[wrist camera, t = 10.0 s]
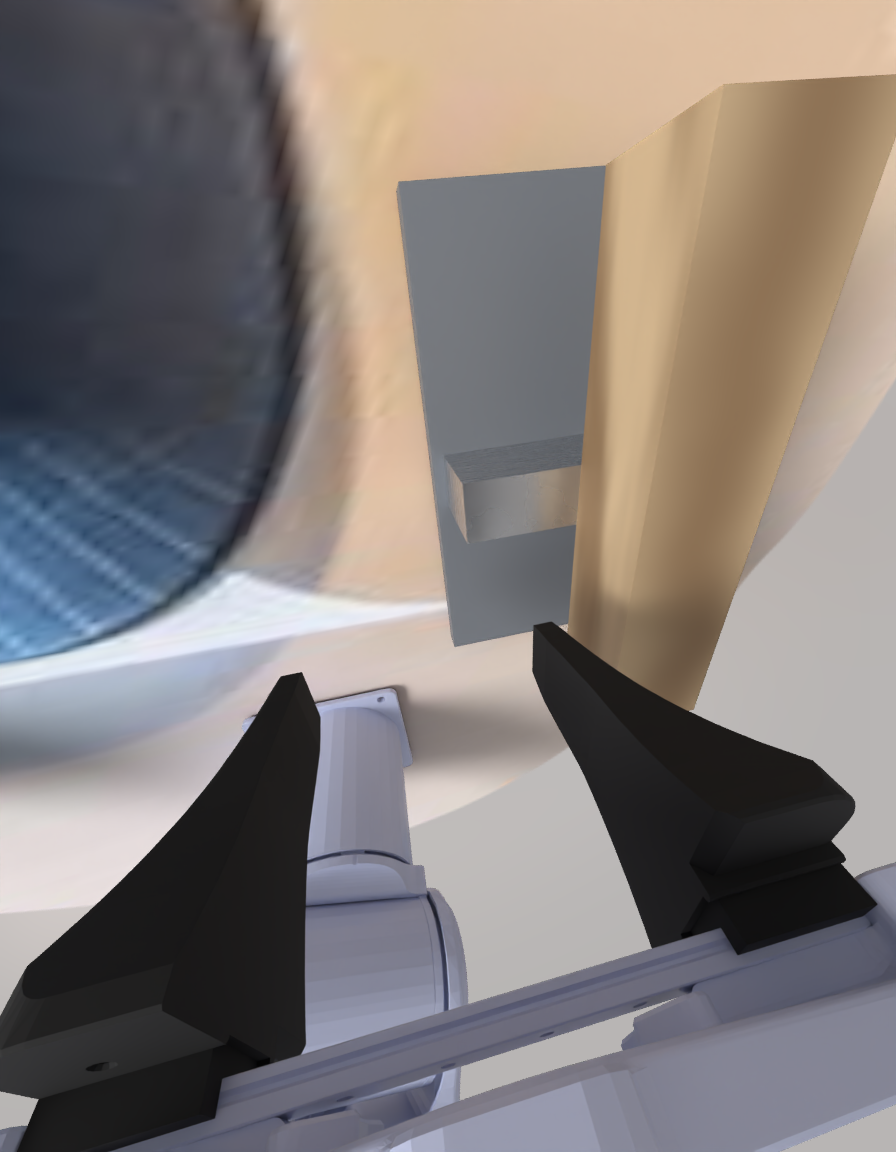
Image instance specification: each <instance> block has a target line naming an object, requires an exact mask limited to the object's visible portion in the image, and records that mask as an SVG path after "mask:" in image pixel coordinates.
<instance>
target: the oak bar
mask: <svg viewBox="0 0 896 1152" xmlns="http://www.w3.org/2000/svg"><path fill="white" fill-rule="evenodd" d="M895 137H896V74H893V75H876V76H858V77H841V78H823V79H805V80H788V81H770V82H753V83H735V84H723V85H722V86H721V87H719V88H718V89H716V90H715V91H713V92H712V93H710V94H709V95H707V96H706V97H704V98H703V99H702V100H700V101H699V102H697V103H696V104H694V105H693V106H691V107H690V108H688V109H687V110H686V111H684V112H683V113H681V114H680V115H678V116H677V117H675V118H674V119H672V120H671V121H670V122H668V123H667V124H665V125H664V126H662V127H661V128H659V129H658V130H656V131H655V132H654V133H652V134H651V135H649V136H648V137H646V138H645V139H643V140H642V141H640V142H639V143H638V144H636V145H635V146H633V147H632V148H630V149H629V150H627V151H626V152H624V153H623V154H622V155H620V156H619V157H617V158H616V159H614V160H613V161H611V162H610V163H608V164H607V165H606V170H605V182H604V195H603V207H602V219H601V231H600V243H599V255H598V268H597V280H596V292H595V304H594V316H593V328H592V341H591V353H590V365H589V377H588V389H587V401H586V414H585V426H584V438H583V450H582V462H581V474H580V487H579V499H578V511H577V523H576V535H575V547H574V560H573V572H572V584H571V596H570V608H569V620H568V634H569V635H570V636H571V637H573V638H574V639H575V640H577V641H578V642H579V643H580V644H582V645H583V646H584V647H586V648H587V649H588V650H590V651H591V652H592V653H594V654H595V655H596V656H598V657H599V658H601V659H602V660H603V661H605V662H606V663H608V664H609V665H610V666H612V667H613V668H615V669H616V670H618V671H619V672H621V673H622V674H624V675H625V676H627V677H628V678H630V679H632V680H633V681H635V682H636V683H638V684H640V685H641V686H643V687H645V688H646V689H648V690H650V691H652V692H653V693H655V694H657V695H659V696H661V697H662V698H664V699H666V700H668V701H670V702H671V703H673V704H675V705H677V706H679V707H681V708H683V709H685V710H687V711H690V710H693V709H694V707H695V704H696V701H697V698H698V695H699V693H700V690H701V687H702V684H703V681H704V678H705V676H706V673H707V670H708V667H709V664H710V661H711V659H712V655H713V653H714V650H715V647H716V644H717V642H718V639H719V636H720V633H721V630H722V627H723V625H724V622H725V619H726V616H727V613H728V610H729V608H730V604H731V602H732V599H733V596H734V593H735V591H736V588H737V585H738V582H739V579H740V576H741V574H742V571H743V568H744V565H745V562H746V559H747V557H748V554H749V551H750V548H751V545H752V543H753V540H754V537H755V534H756V531H757V528H758V526H759V523H760V520H761V517H762V514H763V511H764V509H765V506H766V503H767V500H768V497H769V494H770V492H771V489H772V486H773V483H774V480H775V477H776V475H777V472H778V469H779V466H780V463H781V460H782V458H783V455H784V452H785V449H786V446H787V443H788V441H789V438H790V435H791V432H792V429H793V426H794V424H795V421H796V418H797V415H798V412H799V409H800V407H801V404H802V401H803V398H804V395H805V392H806V390H807V387H808V384H809V381H810V378H811V375H812V373H813V370H814V367H815V364H816V361H817V358H818V356H819V353H820V350H821V347H822V344H823V341H824V339H825V336H826V333H827V330H828V327H829V324H830V322H831V319H832V316H833V313H834V310H835V307H836V305H837V302H838V299H839V296H840V293H841V290H842V288H843V285H844V282H845V279H846V276H847V273H848V271H849V268H850V265H851V262H852V259H853V256H854V254H855V251H856V248H857V245H858V242H859V239H860V237H861V234H862V231H863V228H864V225H865V222H866V220H867V217H868V214H869V211H870V208H871V205H872V203H873V200H874V197H875V194H876V191H877V188H878V186H879V183H880V180H881V177H882V174H883V171H884V169H885V166H886V163H887V160H888V157H889V154H890V152H891V149H892V146H893V143H894V140H895Z"/></svg>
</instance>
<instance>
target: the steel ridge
mask: <svg viewBox="0 0 896 1152" xmlns="http://www.w3.org/2000/svg"><path fill="white" fill-rule="evenodd" d="M583 438H584V434H579V435H572V436H566V437H559V438H553V439H546V440H540V441H533V442H526V443H520V444H513V445H507V446H500V447H494V448H487V449H481V450H474V451H467V452H461V453H454V454H448V455H443V460H444V470H445V479H446V489H447V499H448V507H449V509H450V511H451V512H452V514H453V516H454V518H455V520H456V522H457V524H458V526H459V528H460V530H461V532H462V534H463V536H464V538H465V540H466V542H467V544H469V543H475V542H481V541H486V540H492V539H498V538H503V537H509V536H514V535H520V534H526V533H531V532H537V531H543V530H548V529H554V528H560V527H565V526H571V525H576V523H577V511H578V499H579V487H580V474H581V462H582V450H583Z"/></svg>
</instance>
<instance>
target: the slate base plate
mask: <svg viewBox="0 0 896 1152" xmlns="http://www.w3.org/2000/svg"><path fill="white" fill-rule="evenodd" d="M605 170H606V166H594V167H581V168H569V169H556V170H543V171H530V172H517V173H504V174H491V175H479V176H466V177H453V178H440V179H427V180H414V181H401V182H399V183H398V187H397V191H396V192H397V200H398V209H399V217H400V225H401V233H402V241H403V249H404V257H405V265H406V273H407V281H408V289H409V297H410V306H411V314H412V322H413V330H414V338H415V346H416V354H417V362H418V370H419V378H420V386H421V395H422V403H423V411H424V419H425V427H426V435H427V443H428V451H429V459H430V467H431V475H432V483H433V492H434V500H435V508H436V516H437V524H438V532H439V540H440V548H441V556H442V564H443V572H444V581H445V589H446V597H447V605H448V613H449V621H450V629H451V637H452V640H453V643H454V647H457V646H462V645H467V644H471V643H476V642H481V641H486V640H491V639H496V638H501V637H506V636H510V635H515V634H520V633H525V632H530V631H533V625H536V624H541V623H546V622H551V621H552V622H553V623H555V624H556V625H557V626H559V625H564V624H568V620H569V608H570V596H571V584H572V572H573V560H574V547H575V535H576V525H571V526H565V527H560V528H554V529H548V530H543V531H537V532H531V533H526V534H520V535H514V536H509V537H503V538H498V539H492V540H486V541H481V542H475V543H469V544H467V542H466V540H465V538H464V536H463V534H462V532H461V530H460V528H459V526H458V524H457V522H456V520H455V518H454V516H453V514H452V512H451V511H450V509H449V507H448V499H447V489H446V479H445V470H444V460H443V455H448V454H454V453H461V452H467V451H474V450H481V449H487V448H494V447H500V446H507V445H513V444H520V443H526V442H533V441H540V440H546V439H553V438H559V437H566V436H572V435H579V434H584V426H585V414H586V401H587V389H588V377H589V365H590V353H591V341H592V328H593V316H594V304H595V292H596V280H597V268H598V255H599V243H600V231H601V219H602V207H603V195H604V182H605Z"/></svg>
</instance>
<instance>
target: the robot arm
mask: <svg viewBox="0 0 896 1152" xmlns="http://www.w3.org/2000/svg"><path fill="white" fill-rule="evenodd" d="M532 672H533V674H534V677H535V679H536V682H537V685H538V687H539V690H540V692H541V694H542V697H543V699H544V701H545V703H546V705H547V707H548V709H549V711H550V713H551V714H552V716H553V718H554V720H555V722H556V724H557V726H558V727H559V729H560V731H561V733H562V735H563V736H564V738H565V740H566V742H567V744H568V746H569V747H570V749H571V751H572V753H573V755H574V757H575V758H576V760H577V762H578V764H579V766H580V768H581V770H582V772H583V774H584V776H585V778H586V780H587V783H588V785H589V787H590V790H591V792H592V794H593V796H594V799H595V801H596V803H597V806H598V808H599V811H600V813H601V815H602V818H603V820H604V823H605V825H606V828H607V830H608V833H609V835H610V837H611V840H612V842H613V845H614V847H615V850H616V853H617V855H618V858H619V860H620V863H621V865H622V868H623V870H624V873H625V876H626V878H627V881H628V884H629V886H630V889H631V892H632V894H633V897H634V900H635V903H636V905H637V908H638V911H639V913H640V916H641V919H642V921H643V924H644V927H645V930H646V933H647V936H648V939H649V942H650V944H651V947H652V949H649V950H646V951H642V952H639V953H636V954H633V955H629V956H626V957H623V958H619V959H616V960H613V961H609V962H606V963H603V964H600V965H596V966H593V967H589V968H586V969H583V970H580V971H576V972H573V973H570V974H566V975H563V976H560V977H556V978H554V979H550V980H547V981H544V982H540V983H537V984H533V985H530V986H527V987H523V988H520V989H517V990H513V991H510V992H507V993H504V994H500V995H497V996H494V997H490V998H487V999H484V1000H481V1001H477V1002H474V1003H471V1004H468V985H467V972H466V963H465V955H464V949H463V944H462V939H461V935H460V931H459V927H458V924H457V921H456V918H455V916H454V913H453V911H452V909H451V908H450V907H449V905H448V904H447V902H446V901H445V899H444V897H443V896H442V894H441V893H440V892H439V891H438V890H437V889H435V888H426V880H425V872H424V866H422V865H413V864H412V854H411V843H410V833H409V823H408V813H407V803H406V793H405V782H404V772H403V767H407V766H410V765H411V764H412V763H413V759H412V754H411V750H410V746H409V742H408V738H407V733H406V729H405V725H404V721H403V717H402V713H401V709H400V705H399V701H398V697H397V693H396V691H395V690H394V689H391V688H387V689H382V690H378V691H373V692H368V693H363V694H359V695H354V696H349V697H345V698H340V699H335V700H330V701H326V702H321V703H316V704H315V702H314V700H313V697H312V695H311V693H310V690H309V688H308V685H307V683H306V681H305V678H304V676H303V673H302V672H300V673H295V674H290V675H286V676H281V677H280V679H279V680H278V681H277V683H276V685H275V686H274V688H273V690H272V691H271V693H270V694H269V696H268V698H267V699H266V701H265V703H264V704H263V706H262V707H261V709H260V711H259V712H258V714H257V715H256V716H255V717H250V718H247V719H245V720H244V722H243V725H242V729H243V731H244V732H245V734H244V735H243V737H242V738H241V740H240V741H239V743H238V744H237V746H236V747H235V749H234V750H233V751H232V753H231V754H230V756H229V757H228V758H227V760H226V761H225V763H224V764H223V765H222V767H221V768H220V770H219V771H218V772H217V774H216V775H215V776H214V778H213V779H212V780H211V782H210V783H209V784H208V785H207V787H206V788H205V789H204V790H203V792H202V793H201V794H200V795H199V797H198V798H197V799H196V800H195V802H194V803H193V804H192V805H191V806H190V808H189V809H188V810H187V811H186V812H185V814H184V815H183V816H182V817H181V818H180V819H179V820H178V821H177V823H176V824H175V825H174V826H173V827H172V828H171V829H170V830H169V831H168V832H167V833H166V835H165V836H164V837H163V838H162V839H161V840H160V841H159V842H158V843H157V844H156V845H155V847H154V848H153V849H152V850H151V851H150V852H149V853H148V854H147V855H146V856H145V857H144V858H143V859H142V860H141V861H140V862H139V863H138V864H137V865H136V866H135V867H134V868H133V869H132V870H131V871H130V872H129V873H128V874H127V875H126V876H125V877H124V878H123V879H122V880H121V881H120V882H119V883H118V884H117V885H116V886H115V887H114V888H113V889H112V890H111V891H110V892H109V893H108V894H107V895H106V896H105V897H104V898H103V899H102V900H101V901H100V902H98V903H97V904H96V905H95V906H94V907H93V908H92V909H91V910H90V911H89V912H88V913H87V914H86V915H84V916H83V917H82V918H81V919H80V920H79V921H78V922H77V923H75V924H74V925H73V926H72V927H71V928H70V929H69V930H68V931H67V932H66V933H64V934H63V935H62V936H61V937H60V938H59V939H58V940H56V942H54V943H53V944H52V945H51V946H50V947H49V948H48V949H46V950H45V951H44V952H43V953H42V954H41V955H40V956H38V957H37V958H36V959H35V960H34V961H33V962H31V963H30V964H29V965H28V966H27V968H26V969H25V971H24V973H23V975H22V976H21V978H20V980H19V982H18V984H17V986H16V987H15V989H14V991H13V993H12V995H11V997H10V999H9V1001H8V1002H7V1004H6V1006H5V1008H4V1010H3V1012H2V1014H1V1016H0V1091H1V1092H6V1093H11V1094H16V1095H21V1096H25V1097H30V1098H36V1099H39V1100H38V1102H37V1105H36V1107H35V1110H34V1112H33V1114H32V1116H31V1119H30V1122H29V1124H28V1126H18V1127H11V1128H6V1129H2V1130H0V1152H780V1151H783V1150H785V1149H788V1148H790V1147H792V1146H795V1145H798V1144H800V1143H802V1142H805V1141H807V1140H809V1139H812V1138H815V1137H817V1136H820V1135H822V1134H824V1133H827V1132H829V1131H832V1130H834V1129H837V1128H839V1127H842V1126H844V1125H847V1124H849V1123H852V1122H854V1121H856V1120H859V1119H861V1118H864V1117H866V1116H869V1115H871V1114H874V1113H876V1112H879V1111H881V1110H884V1109H886V1108H888V1107H891V1106H893V1105H896V862H895V863H892V864H888V865H885V866H881V867H878V868H875V869H872V870H869V871H866V872H864V873H862V874H860V875H858V876H856V877H855V878H853V876H852V875H851V874H850V873H849V872H848V871H847V870H846V869H845V868H844V866H843V865H842V864H841V863H844V861H845V860H846V858H845V856H844V854H843V853H842V852H841V851H840V850H839V849H838V848H837V847H836V846H835V845H834V844H833V843H832V841H831V840H832V839H833V838H834V837H835V836H836V835H837V834H838V832H839V831H840V830H841V829H842V828H843V827H844V826H845V824H846V823H847V822H848V821H849V819H850V818H851V817H852V815H853V814H854V811H855V801H854V799H853V798H852V796H851V795H849V794H848V793H847V792H846V791H845V790H844V789H843V788H842V787H841V786H840V785H839V784H838V783H837V782H835V781H834V780H833V779H832V778H831V777H830V776H829V775H828V774H827V773H826V772H825V771H824V770H823V769H822V768H821V767H820V766H818V765H817V764H816V763H815V762H814V761H813V760H810V759H807V758H804V757H801V756H798V755H796V754H793V753H790V752H787V751H784V750H781V749H778V748H775V747H773V746H770V745H767V744H764V743H761V742H759V741H756V740H754V739H751V738H748V737H746V736H744V735H741V734H739V733H736V732H734V731H731V730H729V729H726V728H724V727H722V726H720V725H717V724H715V723H713V722H710V721H708V720H706V719H704V718H702V717H700V716H698V715H696V714H694V713H691V712H689V711H687V710H685V709H683V708H681V707H679V706H677V705H675V704H673V703H671V702H670V701H668V700H666V699H664V698H662V697H661V696H659V695H657V694H655V693H653V692H652V691H650V690H648V689H646V688H645V687H643V686H641V685H640V684H638V683H636V682H635V681H633V680H632V679H630V678H628V677H627V676H625V675H624V674H622V673H621V672H619V671H618V670H616V669H615V668H613V667H612V666H610V665H609V664H608V663H606V662H605V661H603V660H602V659H601V658H599V657H598V656H596V655H595V654H594V653H592V652H591V651H590V650H588V649H587V648H586V647H584V646H583V645H582V644H580V643H579V642H578V641H577V640H575V639H574V638H573V637H571V636H570V635H569V634H568V633H566V632H565V631H564V630H562V629H561V628H560V627H559V626H557V625H556V624H555V623H553V622H552V621H551V622H546V623H541V624H536V625H533V668H532ZM379 697H382V698H379ZM677 997H678V998H677ZM674 998H676V999H674ZM671 999H674V1000H671ZM668 1000H671V1001H669V1002H667V1003H665V1004H663V1005H661V1006H659V1007H657V1008H654V1009H653V1010H650V1011H648V1012H646V1013H644V1014H642V1015H640V1016H637V1017H635V1018H634V1022H633V1026H634V1030H633V1032H631V1033H630V1034H629V1035H628V1036H627V1037H626V1038H624V1039H623V1040H622V1044H621V1047H622V1049H623V1051H620V1052H616V1053H612V1054H608V1055H605V1056H601V1057H597V1058H594V1059H590V1060H587V1061H583V1062H580V1063H576V1064H572V1065H569V1066H565V1067H562V1068H559V1069H555V1070H553V1071H549V1072H546V1073H542V1074H539V1075H536V1076H532V1077H529V1078H526V1079H523V1080H520V1081H517V1082H514V1083H511V1084H508V1085H505V1086H502V1087H498V1088H495V1089H492V1090H490V1091H486V1092H484V1093H481V1094H478V1095H475V1096H472V1097H470V1098H466V1099H464V1100H461V1101H460V1075H461V1066H464V1065H467V1064H470V1063H473V1062H476V1061H480V1060H483V1059H486V1058H489V1057H492V1056H495V1055H498V1054H501V1053H505V1052H507V1051H511V1050H514V1049H517V1048H520V1047H524V1046H527V1045H529V1044H533V1043H536V1042H539V1041H542V1040H545V1039H549V1038H552V1037H555V1036H558V1035H561V1034H564V1033H567V1032H570V1031H574V1030H577V1029H580V1028H583V1027H586V1026H589V1025H592V1024H595V1023H599V1022H602V1021H605V1020H608V1019H611V1018H614V1017H618V1016H621V1015H623V1014H627V1013H630V1012H633V1011H636V1010H639V1009H643V1008H646V1007H649V1006H652V1005H655V1004H658V1003H662V1002H665V1001H668Z"/></svg>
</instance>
